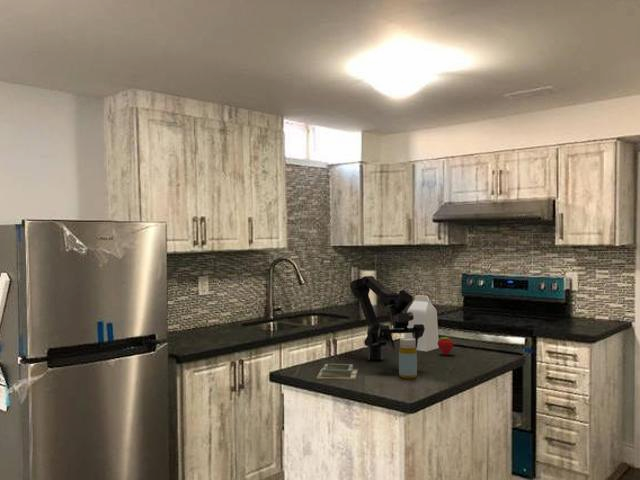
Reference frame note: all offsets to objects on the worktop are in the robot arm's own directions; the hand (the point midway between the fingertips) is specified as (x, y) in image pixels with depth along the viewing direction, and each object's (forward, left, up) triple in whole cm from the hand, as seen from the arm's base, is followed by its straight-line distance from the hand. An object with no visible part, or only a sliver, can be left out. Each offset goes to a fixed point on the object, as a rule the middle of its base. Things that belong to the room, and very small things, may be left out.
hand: (405, 348), depth 230 cm
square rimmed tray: (+4, -27, -10) cm, 29 cm away
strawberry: (-38, +19, -11) cm, 44 cm away
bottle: (+4, +1, -11) cm, 11 cm away
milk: (-54, +9, -11) cm, 56 cm away
